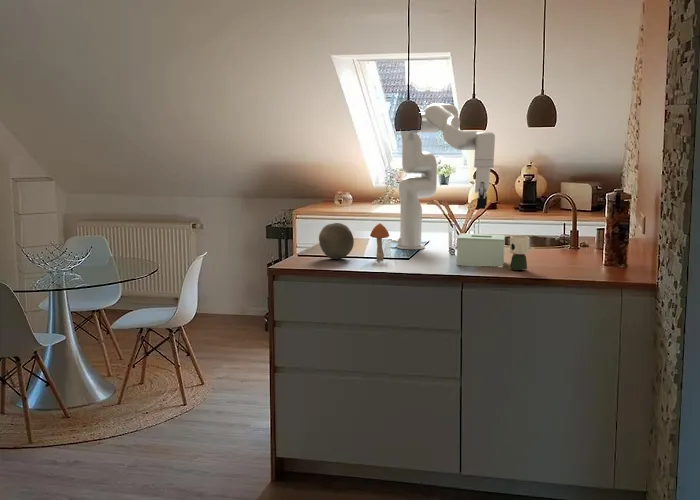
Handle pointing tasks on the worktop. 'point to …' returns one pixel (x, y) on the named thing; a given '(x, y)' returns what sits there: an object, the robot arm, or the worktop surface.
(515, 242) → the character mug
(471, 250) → the coin box
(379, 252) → the mushroom
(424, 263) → the worktop surface
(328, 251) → the cantaloupe
